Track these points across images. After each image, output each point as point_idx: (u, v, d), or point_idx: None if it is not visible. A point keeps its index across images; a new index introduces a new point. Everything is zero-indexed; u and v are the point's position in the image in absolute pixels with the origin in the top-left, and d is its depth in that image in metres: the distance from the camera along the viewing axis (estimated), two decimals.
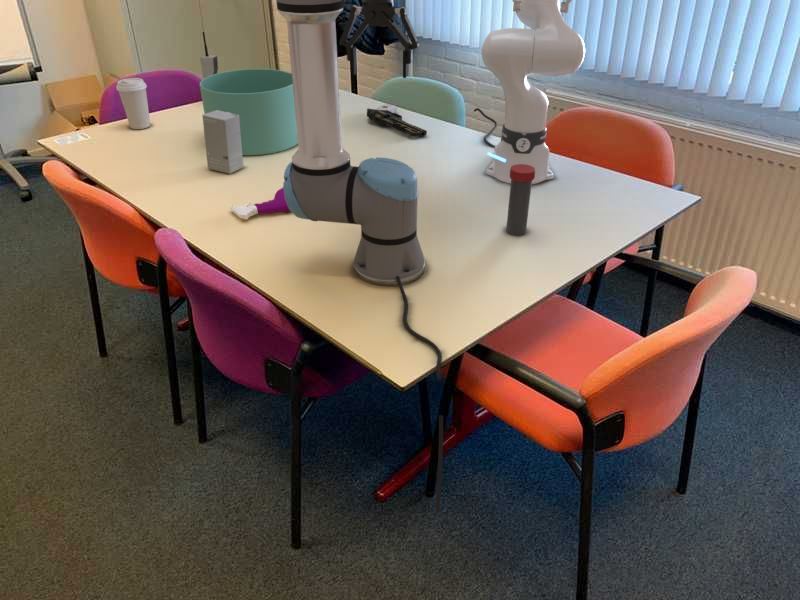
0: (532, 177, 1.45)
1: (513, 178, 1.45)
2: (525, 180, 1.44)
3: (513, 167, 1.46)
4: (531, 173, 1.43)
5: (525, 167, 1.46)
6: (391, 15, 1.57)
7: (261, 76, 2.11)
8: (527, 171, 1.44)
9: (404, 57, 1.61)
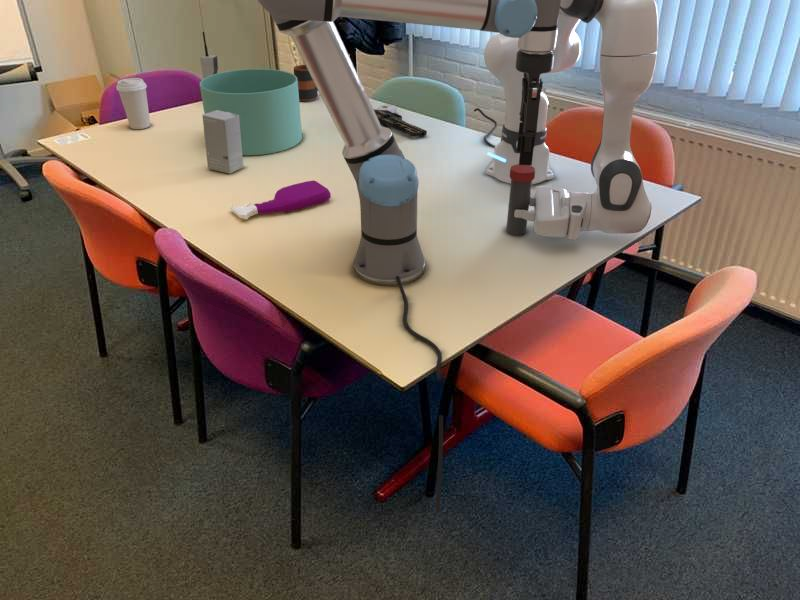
0: (532, 177, 1.45)
1: (513, 178, 1.45)
2: (525, 180, 1.44)
3: (513, 167, 1.46)
4: (531, 172, 1.43)
5: (525, 167, 1.46)
6: None
7: (261, 76, 2.11)
8: (527, 171, 1.44)
9: (531, 129, 1.44)
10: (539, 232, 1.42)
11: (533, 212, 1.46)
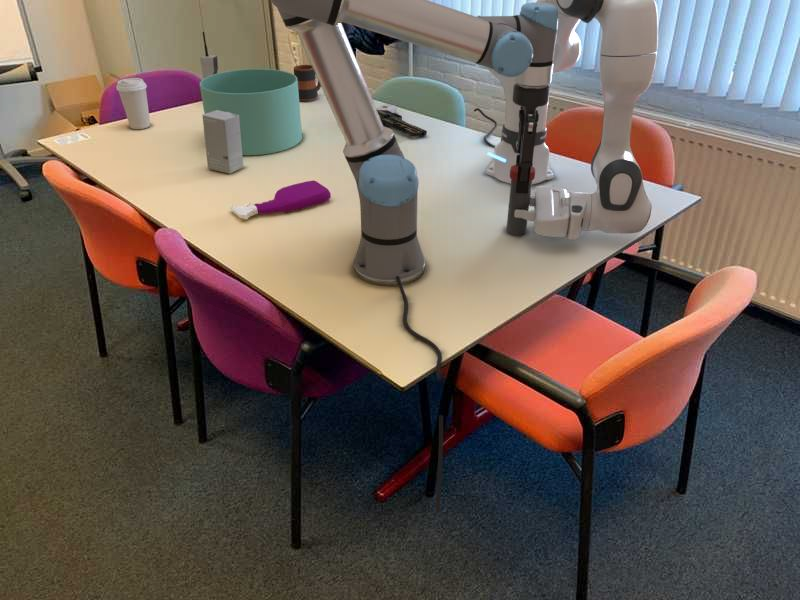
0: (532, 177, 1.45)
1: (513, 178, 1.45)
2: None
3: (513, 167, 1.46)
4: (531, 173, 1.43)
5: None
6: None
7: (261, 76, 2.11)
8: None
9: None
10: (539, 232, 1.42)
11: (533, 212, 1.46)
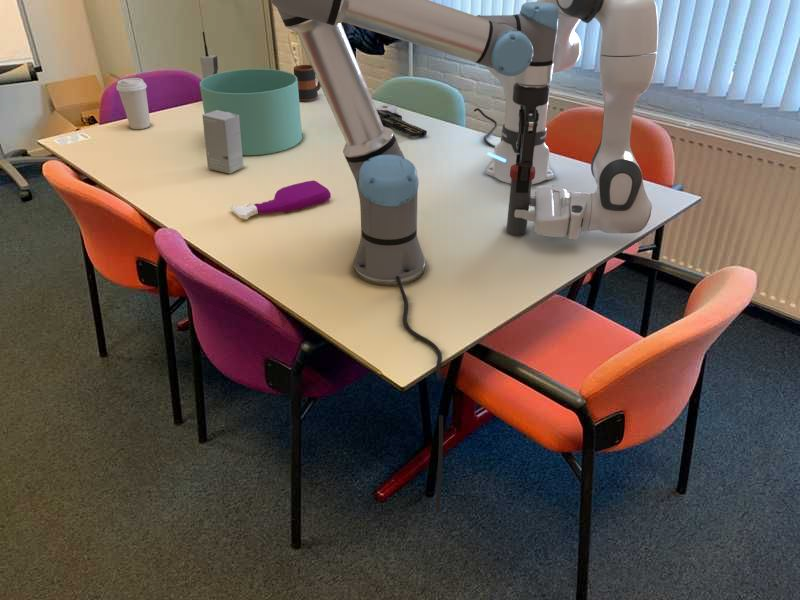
0: None
1: (531, 178, 1.44)
2: None
3: None
4: None
5: None
6: None
7: (261, 76, 2.11)
8: None
9: None
10: (539, 232, 1.42)
11: (533, 212, 1.46)
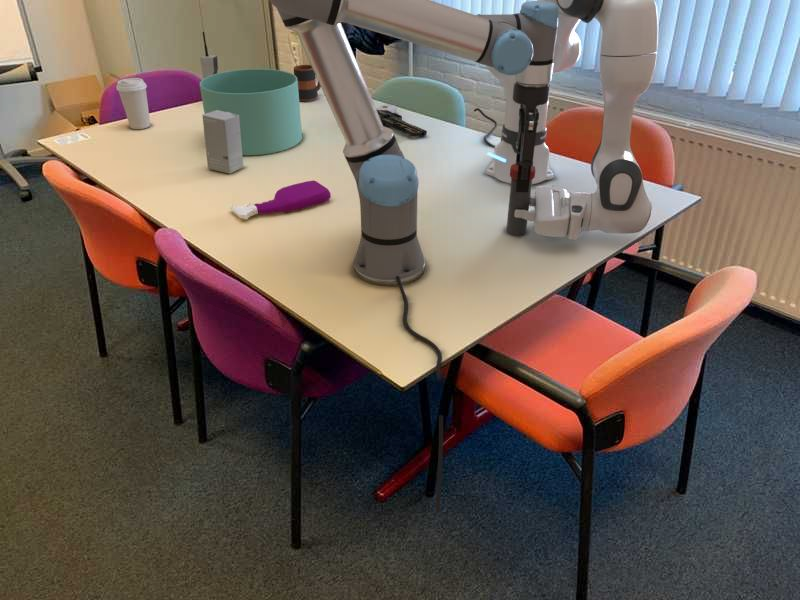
0: None
1: None
2: None
3: (532, 167, 1.45)
4: None
5: None
6: None
7: (261, 76, 2.11)
8: None
9: None
10: (539, 232, 1.42)
11: (533, 212, 1.46)
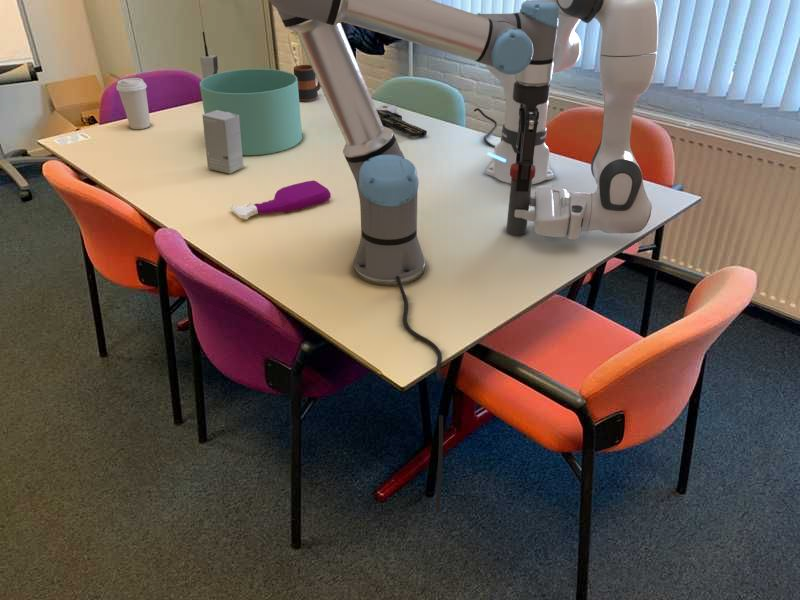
0: None
1: None
2: (512, 175, 1.45)
3: None
4: (516, 170, 1.43)
5: None
6: None
7: (261, 76, 2.11)
8: (517, 168, 1.44)
9: None
10: (539, 232, 1.42)
11: (533, 212, 1.46)
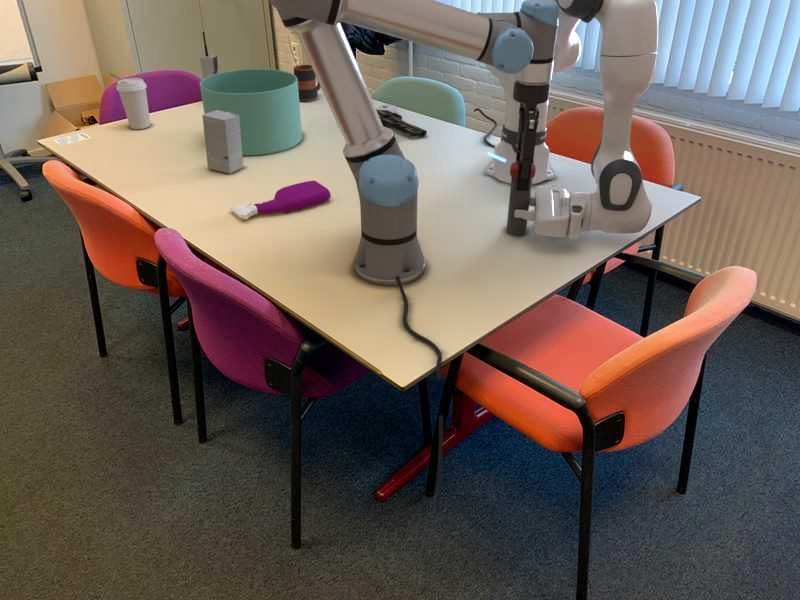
0: (534, 173, 1.45)
1: (516, 176, 1.44)
2: None
3: (513, 165, 1.45)
4: (533, 169, 1.44)
5: None
6: None
7: (261, 76, 2.11)
8: None
9: None
10: (539, 232, 1.42)
11: (533, 212, 1.46)
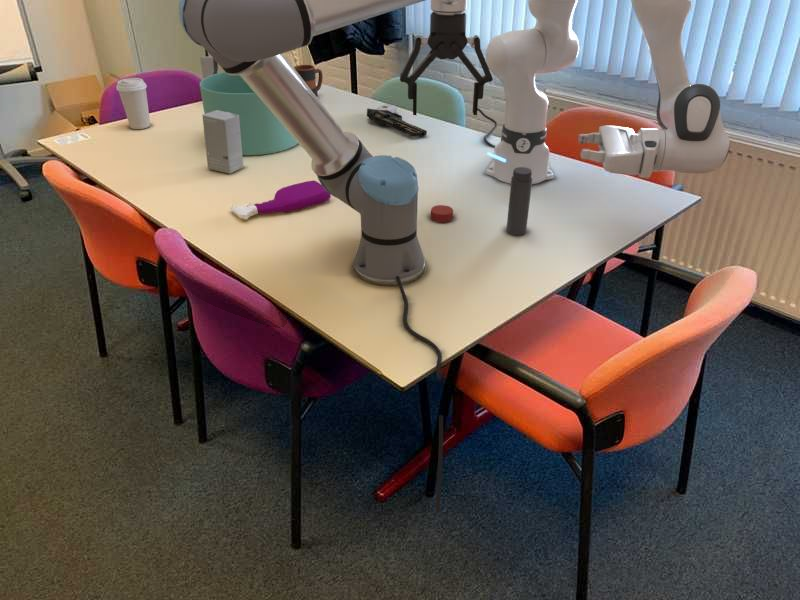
0: None
1: (451, 218, 1.59)
2: None
3: (442, 213, 1.57)
4: None
5: (438, 209, 1.59)
6: None
7: None
8: (446, 207, 1.60)
9: None
10: (610, 169, 1.32)
11: (602, 152, 1.34)
